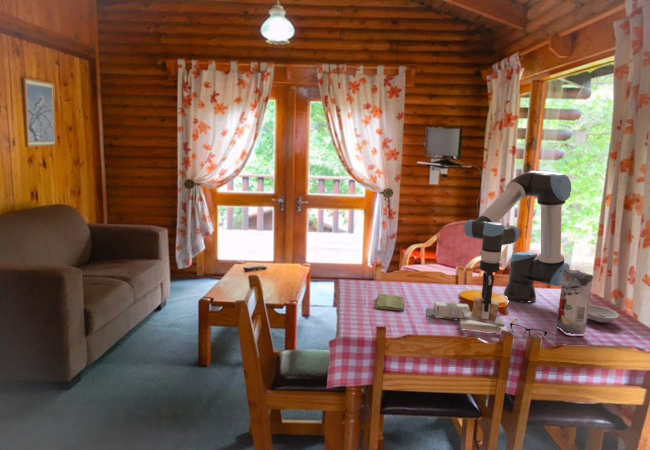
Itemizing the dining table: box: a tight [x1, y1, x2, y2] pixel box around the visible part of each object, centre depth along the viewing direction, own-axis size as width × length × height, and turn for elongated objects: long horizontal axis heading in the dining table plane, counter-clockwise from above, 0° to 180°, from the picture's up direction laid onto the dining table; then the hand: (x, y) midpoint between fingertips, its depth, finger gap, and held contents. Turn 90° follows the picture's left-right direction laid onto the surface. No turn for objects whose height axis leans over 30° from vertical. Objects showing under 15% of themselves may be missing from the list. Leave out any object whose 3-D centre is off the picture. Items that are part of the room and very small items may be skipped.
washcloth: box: [375, 293, 405, 312], centre depth 235 cm, size 13×18×3 cm
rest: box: [459, 319, 508, 333], centre depth 210 cm, size 18×10×1 cm, turn 78°
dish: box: [587, 304, 620, 323], centre depth 225 cm, size 18×14×5 cm
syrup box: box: [432, 301, 471, 321], centre depth 221 cm, size 6×6×14 cm
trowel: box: [462, 296, 506, 327], centre depth 209 cm, size 16×8×8 cm, turn 79°
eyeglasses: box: [509, 318, 553, 337], centre depth 210 cm, size 14×14×4 cm
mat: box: [425, 308, 446, 320], centre depth 225 cm, size 16×11×1 cm
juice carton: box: [556, 267, 594, 335], centre depth 208 cm, size 9×10×27 cm
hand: (484, 316), depth 209 cm, fingers closed on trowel, 4 cm apart
